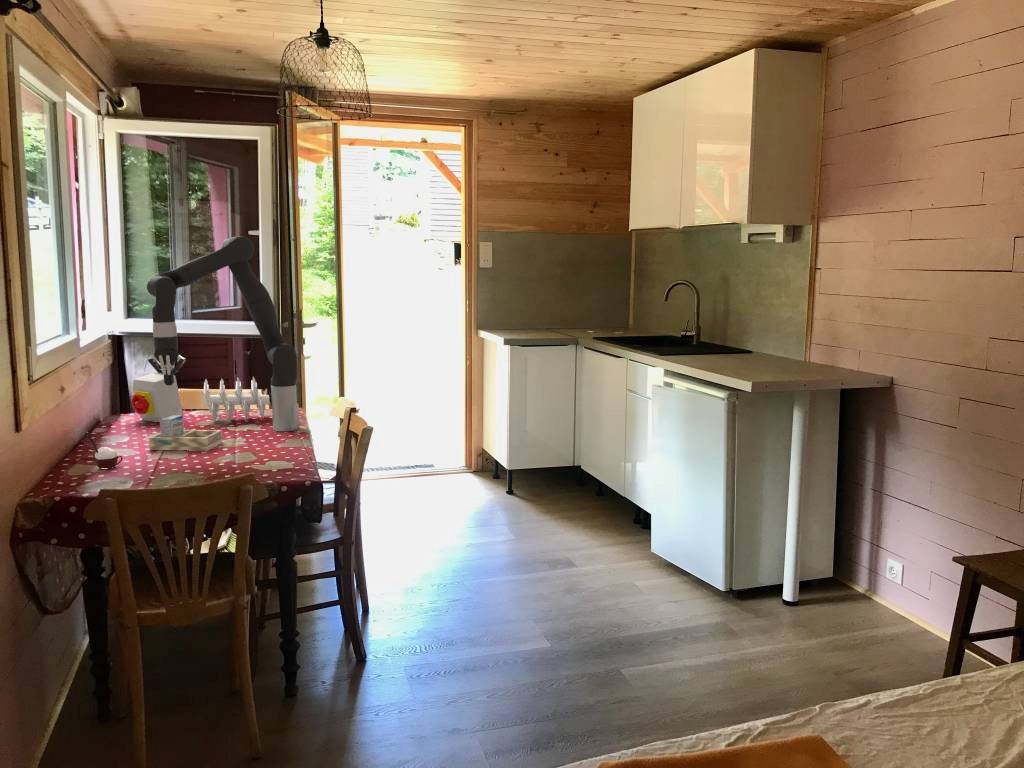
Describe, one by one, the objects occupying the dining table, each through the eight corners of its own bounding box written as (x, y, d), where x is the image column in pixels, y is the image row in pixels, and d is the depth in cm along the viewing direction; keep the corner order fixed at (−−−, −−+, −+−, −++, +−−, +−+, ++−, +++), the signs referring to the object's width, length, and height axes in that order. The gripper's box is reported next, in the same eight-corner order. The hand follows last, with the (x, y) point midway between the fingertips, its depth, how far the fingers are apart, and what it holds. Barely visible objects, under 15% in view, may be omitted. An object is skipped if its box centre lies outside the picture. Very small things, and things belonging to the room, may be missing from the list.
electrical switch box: (129, 427, 323) (118, 379, 318) (161, 416, 335) (152, 370, 330) (152, 431, 315) (141, 382, 310) (184, 419, 328) (174, 372, 322)
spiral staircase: (269, 430, 326) (203, 431, 318) (268, 405, 340) (205, 405, 332) (270, 393, 316) (202, 393, 308) (268, 369, 330) (204, 368, 322)
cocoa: (123, 466, 255) (123, 428, 254) (119, 470, 249) (118, 432, 248) (91, 466, 253) (90, 429, 252) (85, 471, 247) (84, 432, 246)
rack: (222, 442, 286) (221, 430, 286) (206, 451, 273) (205, 438, 272) (167, 442, 287) (167, 429, 287) (149, 450, 274) (148, 437, 273)
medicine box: (173, 444, 276) (171, 419, 275) (160, 443, 277) (159, 419, 276) (184, 439, 284) (183, 415, 283) (172, 438, 285) (171, 414, 283)
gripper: (189, 334, 278) (192, 383, 281) (151, 334, 278) (155, 383, 281) (179, 336, 270) (183, 386, 273) (140, 336, 271) (145, 387, 274)
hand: (169, 385), depth 277 cm, fingers closed
